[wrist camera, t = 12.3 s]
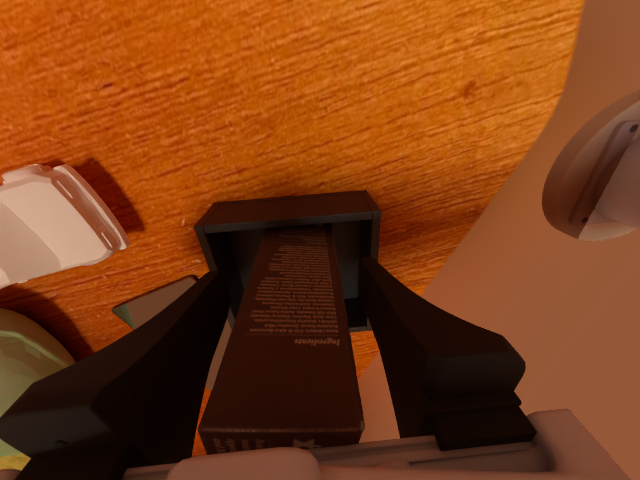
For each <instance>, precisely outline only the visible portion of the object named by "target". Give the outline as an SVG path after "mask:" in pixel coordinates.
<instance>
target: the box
mask: <svg viewBox="0 0 640 480" xmlns="http://www.w3.org/2000/svg"><path fill="white" fill-rule="evenodd" d="M364 429H365V424H364V418H363V410H362V404H361V398H360V393H359V387H358V381H357V376H356V367H355V361H354V356H353V350H352V344H351V337H350V332H349V326H348V319H347V314H346V308H345V302H344V295H343V290H342V284H341V279H340V272H339V267H338V261H337V254H336V248H335V242H334V236H333V230H332V224H331V223H323V224H311V225H300V226H288V227H276V228H265V231H264V234H263V237H262V240H261V243H260V246H259V249H258V252H257V255H256V258H255V262H254V265H253V268H252V271H251V274H250V277H249V280H248V283H247V286H246V289H245V292H244V294H243V298H242V301H241V303H240V307H239V310H238V313H237V316H236V319H235V322H234V326H233V328H232V331H231V334H230V337H229V340H228V343H227V346H226V349H225V352H224V355H223V358H222V361H221V364H220V367H219V370H218V373H217V376H216V380H215V383H214V386H213V389H212V391H211V394H210V397H209V400H208V403H207V405H206V408H205V411H204V414H203V417H202V419H201V422H200V424H199V427H198V432H199V434H200V437H201V440H202V442H203V445H204V448H205V450H206V453H207V455H212V454H221V453H230V452H239V451H249V450H258V449H267V448H276V447H296V448H300V449H314V448H324V447H335V446H347V445H353V444H356V443H359V440H360V438H361V434H362V432H363V430H364Z"/></svg>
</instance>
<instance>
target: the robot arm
mask: <svg viewBox="0 0 640 480" xmlns="http://www.w3.org/2000/svg"><path fill="white" fill-rule="evenodd" d="M612 222H620V223H623V224H626V225H628V226H631V227H634V228H636V229H639V230H640V120H629V121H623V122H621V123H619V124H618V125H617V126H616V127H615V129H614V130H613V132H612V134H611V136H610V138H609V140H608V142H607V144H606V146H605V148H604V150H603V152H602V154H601V156H600V158H599V160H598V162H597V165H596V167H595V169H594V171H593V173H592V175H591V177H590V179H589V181H588V183H587V185H586V187H585V189H584V191H583V193H582V195H581V197H580V199H579V201H578V203H577V205H576V207H575V209H574V211H573V213H572V215H571V217H570V219H569V223H570V224H572V225H574V226H578V225H589V224H601V223H612ZM359 289H360V293H361V298H362V302H363V305H364V308H365V311H366V314H367V317H368V319H369V322H370V325H371V327H372V330H373V333H374V336H375V338H376V341H377V344H378V347H379V350H380V354H381V358H382V362H383V365H384V369H385V373H386V377H387V382H388V385H389V390H390V394H391V398H392V403H393V407H394V411H395V416H396V420H397V425H398V430H399V434H400V439H392V440H383V441H374V442H366V443H356V444H353V445H347V446H335V447H324V448H314V449H300V448H296V447H276V448H267V449H258V450H249V451H239V452H230V453H221V454H212V455H202V456H196V457H192V451H193V445H194V438H195V433H196V428H197V423H198V418H199V413H200V408H201V403H202V399H203V394H204V390H205V386H206V382H207V378H208V374H209V370H210V366H211V363H212V360H213V357H214V354H215V351H216V348H217V346H218V343H219V340H220V337H221V335H222V332H223V329H224V326H225V323H226V321H227V318H228V313H229V309H230V303H231V298H230V295H229V292H228V289H227V286H226V283H225V280H224V277H223V274H222V271H221V270H217V271H209V272H208V273H206V274H205V275H204V276H203V277H202V278H200V279H199V280H198V281H197V282H196V283H195V284H193V285H192V286H191V287H190V288H189V289H188V290H186V291H185V292H184V293H183V294H182V295H181V296H179V297H178V298H177V299H176V300H175V301H173V302H172V303H171V304H169V305H168V306H167V307H166V308H164V309H163V310H162V311H161V312H159V313H158V314H157V315H155V316H154V317H153V318H151V319H150V320H148V321H147V322H145V323H144V324H142V325H141V326H139V327H138V328H136V329H135V330H133V331H132V332H130V333H128V334H127V335H125V336H123V337H122V338H120V339H119V340H117V341H115V342H114V343H112V344H110V345H108V346H107V347H105V348H103V349H101V350H99V351H98V352H96V353H94V354H92V355H90V356H88V357H86V358H84V359H82V360H80V361H78V362H76V363H74V364H72V365H70V366H68V367H66V368H64V369H62V370H60V371H58V372H55V373H53V374H51V375H49V376H47V377H45V378H43V379H40V380H38V381H36V382H34V383H32V384H31V385H30V386H29V387H28V388H27V389H26V391H25V392H24V393H23V394H22V395H21V396H20V397H19V398H18V399H17V400H16V401H15V402H14V403H13V404H12V405H11V406H10V407H9V409H8V410H7V411H6V412H5V413H4V414H3V415H2V416H1V417H0V439H1V440H2V441H4V442H5V443H7V444H8V445H10V446H12V447H13V448H15V449H16V450H18V451H20V452H21V453H23V454H25V455H26V456H28V457H29V458H31V459H30V460H29V462H28V463H27V464H26V466H25V467H24V468H23V469H22V471H21V470H17V469H1V470H0V480H631V479H630V478H629V477H628V476H627V474H626V473H625V472H624V471H623V470H622V469H621V468H620V466H619V465H618V464H617V463H616V462H615V461H614V460H613V458H612V457H611V456H610V455H609V454H608V453H607V452H606V451H605V449H604V448H603V447H602V446H601V445H600V443H599V442H598V441H597V440H596V439H595V438H594V437H593V435H592V434H591V433H590V432H589V431H588V430H587V429H586V428H585V426H584V425H583V424H582V423H581V422H580V421H579V419H578V418H577V417H576V416H575V415H574V414H573V412H572V411H571V410H569V409H557V410H548V411H539V412H534V413H531V414H529V415H527V416H525V414H524V413H523V411H522V410H521V409H520V407H519V406H520V405H521V400H520V399H519V397H518V396H517V395H516V393H515V392H514V390H515V388H516V386H517V385H518V383H519V381H520V380H521V378H522V377H523V374H524V372H525V368H526V367H525V361H524V360H523V359H522V357H521V356H520V355H519V354H518V352H517V351H516V350H515V349H514V348H513V347H512V346H511V344H510V343H509V342H508V341H507V340H506V339H505V338H504V337H503V336H502V335H499V334H497V333H495V332H492V331H489V330H486V329H484V328H481V327H478V326H476V325H474V324H471V323H469V322H467V321H465V320H462V319H460V318H458V317H456V316H454V315H452V314H450V313H448V312H446V311H444V310H442V309H440V308H438V307H436V306H435V305H433V304H431V303H429V302H428V301H426V300H425V299H423V298H421V297H420V296H418V295H417V294H415V293H414V292H412V291H411V290H410V289H408V288H407V287H406V286H404V285H403V284H402V283H401V282H399V281H398V280H397V279H396V278H395V277H393V276H392V275H391V274H390V273H389V272H388V271H387V270H386V269H384V268H383V267H382V266H381V265H380V264H379V263H378V262H377V261H376V260H375V259H374V258H373V257H372V256H371V257H360V278H359ZM191 457H192V458H191Z"/></svg>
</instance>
